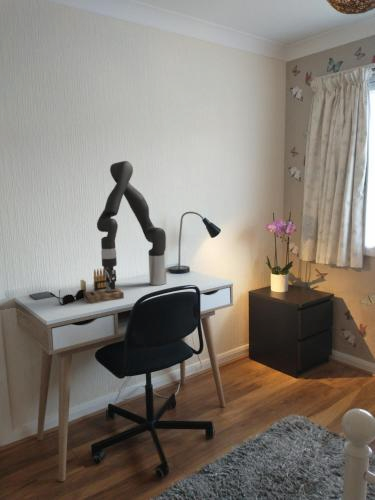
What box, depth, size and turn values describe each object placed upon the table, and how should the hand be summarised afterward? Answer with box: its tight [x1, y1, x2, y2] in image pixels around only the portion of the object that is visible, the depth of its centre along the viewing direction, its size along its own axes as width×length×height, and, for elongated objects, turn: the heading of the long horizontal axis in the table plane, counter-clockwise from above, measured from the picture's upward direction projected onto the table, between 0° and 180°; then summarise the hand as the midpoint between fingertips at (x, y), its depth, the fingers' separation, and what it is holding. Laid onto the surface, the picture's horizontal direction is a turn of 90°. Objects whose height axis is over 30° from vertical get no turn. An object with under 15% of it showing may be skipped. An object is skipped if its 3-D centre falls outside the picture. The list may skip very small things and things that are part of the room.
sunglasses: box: [49, 289, 84, 306], centre depth 209 cm, size 17×14×5 cm
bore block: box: [83, 287, 125, 304], centre depth 210 cm, size 18×12×3 cm, turn 117°
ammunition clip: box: [93, 267, 106, 291], centre depth 229 cm, size 11×2×12 cm, turn 122°
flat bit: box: [80, 279, 87, 292], centre depth 216 cm, size 2×4×8 cm, turn 30°
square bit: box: [106, 281, 116, 293], centre depth 212 cm, size 4×4×8 cm
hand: (110, 287), depth 212 cm, fingers open, 8 cm apart
